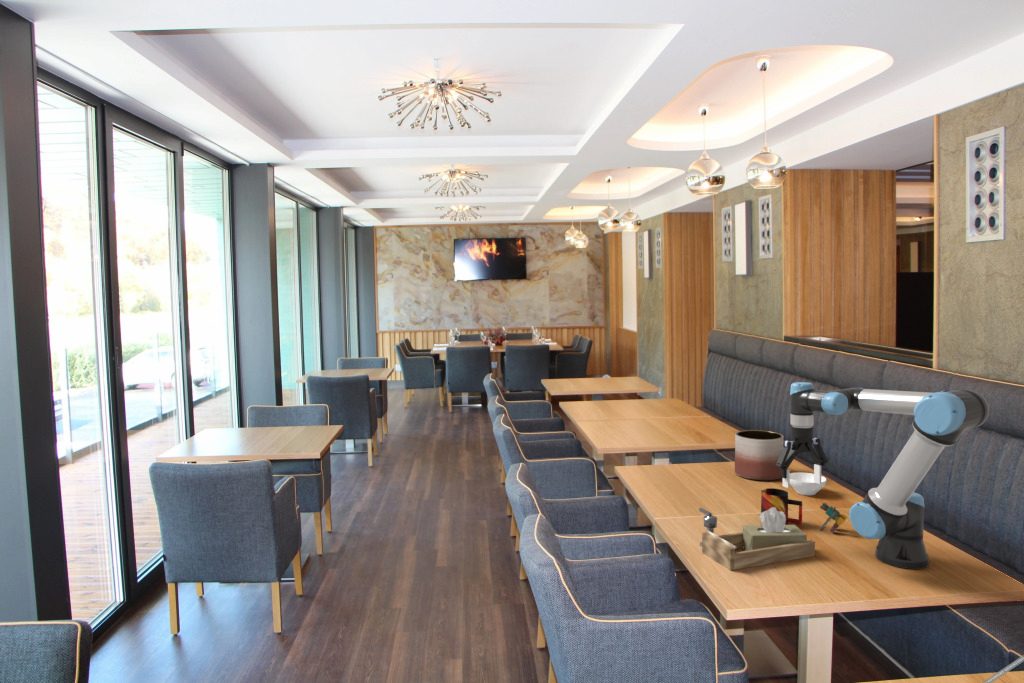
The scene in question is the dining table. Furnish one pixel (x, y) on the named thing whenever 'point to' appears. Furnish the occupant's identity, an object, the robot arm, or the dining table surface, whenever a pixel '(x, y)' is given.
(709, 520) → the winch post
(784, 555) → the bay
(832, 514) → the binoculars
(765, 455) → the planter
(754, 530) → the tissue box
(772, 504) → the mug
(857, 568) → the dining table surface
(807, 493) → the bowl
